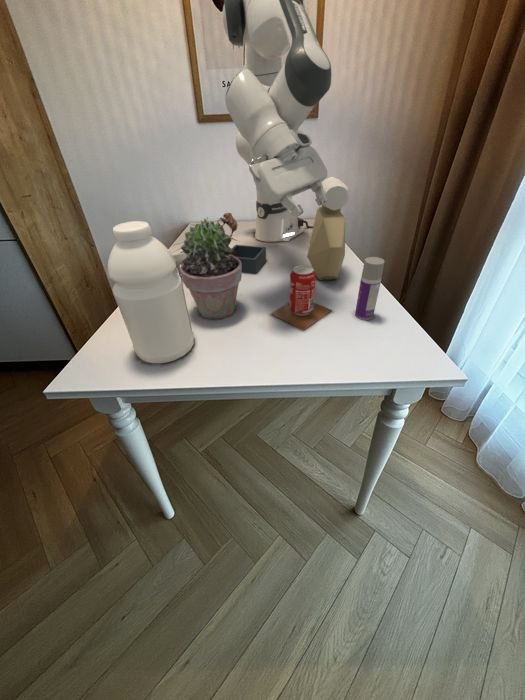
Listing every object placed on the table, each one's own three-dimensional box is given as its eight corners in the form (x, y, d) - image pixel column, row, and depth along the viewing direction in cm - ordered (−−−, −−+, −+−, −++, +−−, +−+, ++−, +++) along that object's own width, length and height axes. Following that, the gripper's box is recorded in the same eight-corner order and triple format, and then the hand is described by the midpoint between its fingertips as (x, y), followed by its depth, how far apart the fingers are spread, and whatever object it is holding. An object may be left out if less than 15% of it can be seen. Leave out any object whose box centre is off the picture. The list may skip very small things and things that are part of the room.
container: (351, 312, 83) (360, 258, 74) (366, 309, 84) (376, 255, 75) (361, 321, 79) (372, 265, 70) (377, 317, 81) (389, 262, 71)
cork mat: (299, 298, 90) (299, 296, 90) (331, 311, 84) (331, 309, 83) (271, 314, 84) (271, 312, 83) (303, 330, 77) (303, 328, 77)
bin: (236, 257, 116) (235, 244, 113) (266, 260, 113) (266, 247, 110) (224, 270, 107) (222, 256, 104) (256, 273, 104) (255, 259, 101)
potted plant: (167, 311, 87) (143, 218, 72) (224, 288, 97) (214, 202, 81) (200, 338, 76) (180, 236, 61) (261, 310, 86) (257, 215, 70)
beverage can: (303, 303, 87) (305, 261, 79) (318, 312, 82) (321, 270, 75) (285, 309, 84) (285, 268, 77) (299, 320, 80) (301, 276, 73)
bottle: (199, 328, 80) (176, 213, 62) (189, 363, 69) (158, 236, 51) (145, 330, 80) (107, 216, 63) (126, 365, 69) (75, 239, 52)
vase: (335, 257, 112) (345, 169, 95) (351, 288, 94) (367, 185, 76) (302, 259, 113) (305, 171, 95) (311, 290, 94) (317, 187, 76)
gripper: (253, 149, 58) (293, 213, 60) (312, 134, 70) (345, 188, 71) (237, 172, 63) (274, 231, 65) (295, 155, 75) (326, 205, 77)
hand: (312, 209), depth 68 cm, fingers open, 8 cm apart
